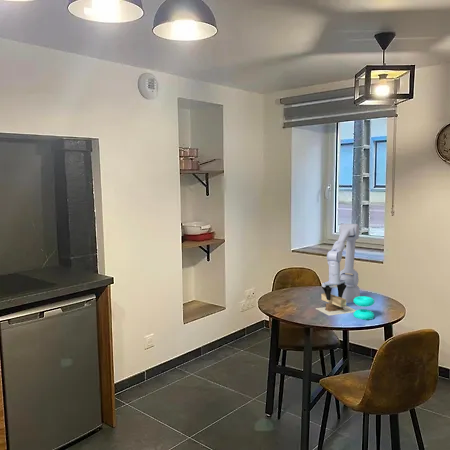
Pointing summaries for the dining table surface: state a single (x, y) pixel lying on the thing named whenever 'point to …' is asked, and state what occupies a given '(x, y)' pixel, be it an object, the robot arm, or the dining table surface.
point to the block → (333, 307)
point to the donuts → (363, 302)
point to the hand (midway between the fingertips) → (334, 298)
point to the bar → (334, 300)
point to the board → (346, 310)
